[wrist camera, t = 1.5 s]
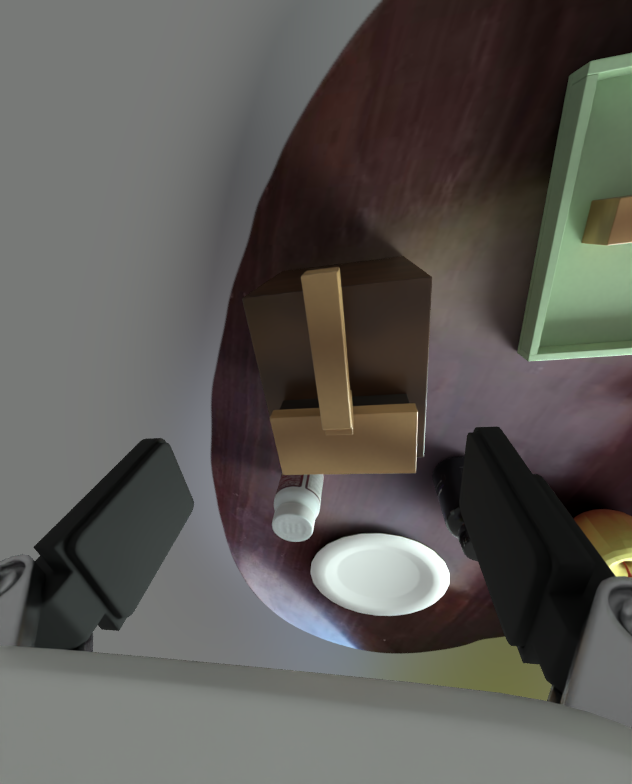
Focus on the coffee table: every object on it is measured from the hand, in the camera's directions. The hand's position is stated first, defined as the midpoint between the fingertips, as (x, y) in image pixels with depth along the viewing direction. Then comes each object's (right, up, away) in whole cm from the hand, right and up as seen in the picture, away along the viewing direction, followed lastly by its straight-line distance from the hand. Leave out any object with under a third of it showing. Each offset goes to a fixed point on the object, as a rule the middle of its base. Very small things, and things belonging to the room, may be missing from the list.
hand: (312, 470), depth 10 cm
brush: (+2, +4, +14) cm, 15 cm away
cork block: (+27, +18, +19) cm, 37 cm away
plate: (+12, -31, +48) cm, 58 cm away
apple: (+41, -17, +37) cm, 58 cm away
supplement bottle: (+20, -9, +35) cm, 42 cm away
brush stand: (+4, +10, +27) cm, 29 cm away
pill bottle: (-2, -9, +38) cm, 39 cm away
